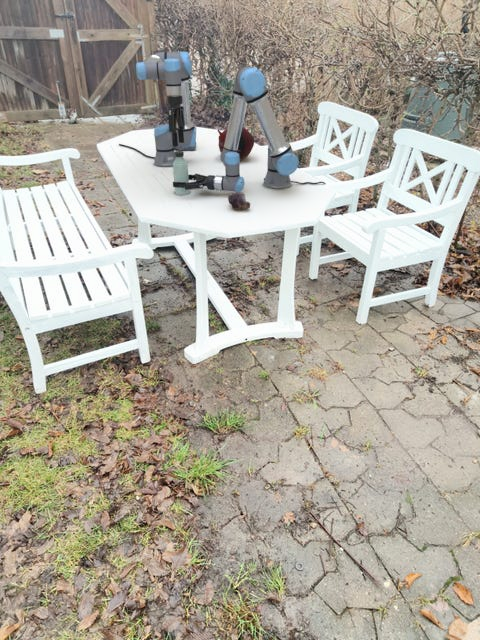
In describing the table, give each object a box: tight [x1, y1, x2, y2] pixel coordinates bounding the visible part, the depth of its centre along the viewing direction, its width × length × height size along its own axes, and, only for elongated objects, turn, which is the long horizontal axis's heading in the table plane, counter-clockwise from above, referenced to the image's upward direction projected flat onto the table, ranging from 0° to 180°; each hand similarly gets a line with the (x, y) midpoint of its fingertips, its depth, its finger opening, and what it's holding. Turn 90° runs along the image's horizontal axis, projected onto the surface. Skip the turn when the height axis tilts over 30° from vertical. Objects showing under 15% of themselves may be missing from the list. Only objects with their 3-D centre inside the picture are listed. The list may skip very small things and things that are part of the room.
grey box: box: [174, 142, 197, 151], centre depth 321 cm, size 17×18×20 cm
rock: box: [227, 191, 251, 211], centre depth 224 cm, size 12×9×10 cm
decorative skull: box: [217, 127, 255, 161], centre depth 297 cm, size 21×24×25 cm
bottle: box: [172, 156, 191, 196], centre depth 241 cm, size 8×8×21 cm
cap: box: [174, 150, 185, 158], centre depth 236 cm, size 4×4×2 cm
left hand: (178, 144), depth 233 cm, fingers open, 7 cm apart
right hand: (177, 180), depth 244 cm, fingers open, 13 cm apart
